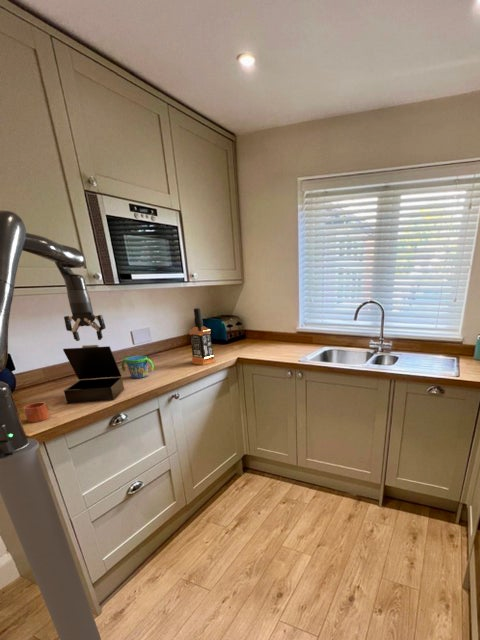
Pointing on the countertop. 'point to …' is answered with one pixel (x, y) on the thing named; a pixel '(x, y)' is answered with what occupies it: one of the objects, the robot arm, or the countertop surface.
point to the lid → (92, 362)
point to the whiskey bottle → (201, 341)
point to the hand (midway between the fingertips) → (89, 340)
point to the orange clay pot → (36, 412)
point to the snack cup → (137, 366)
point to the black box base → (94, 390)
